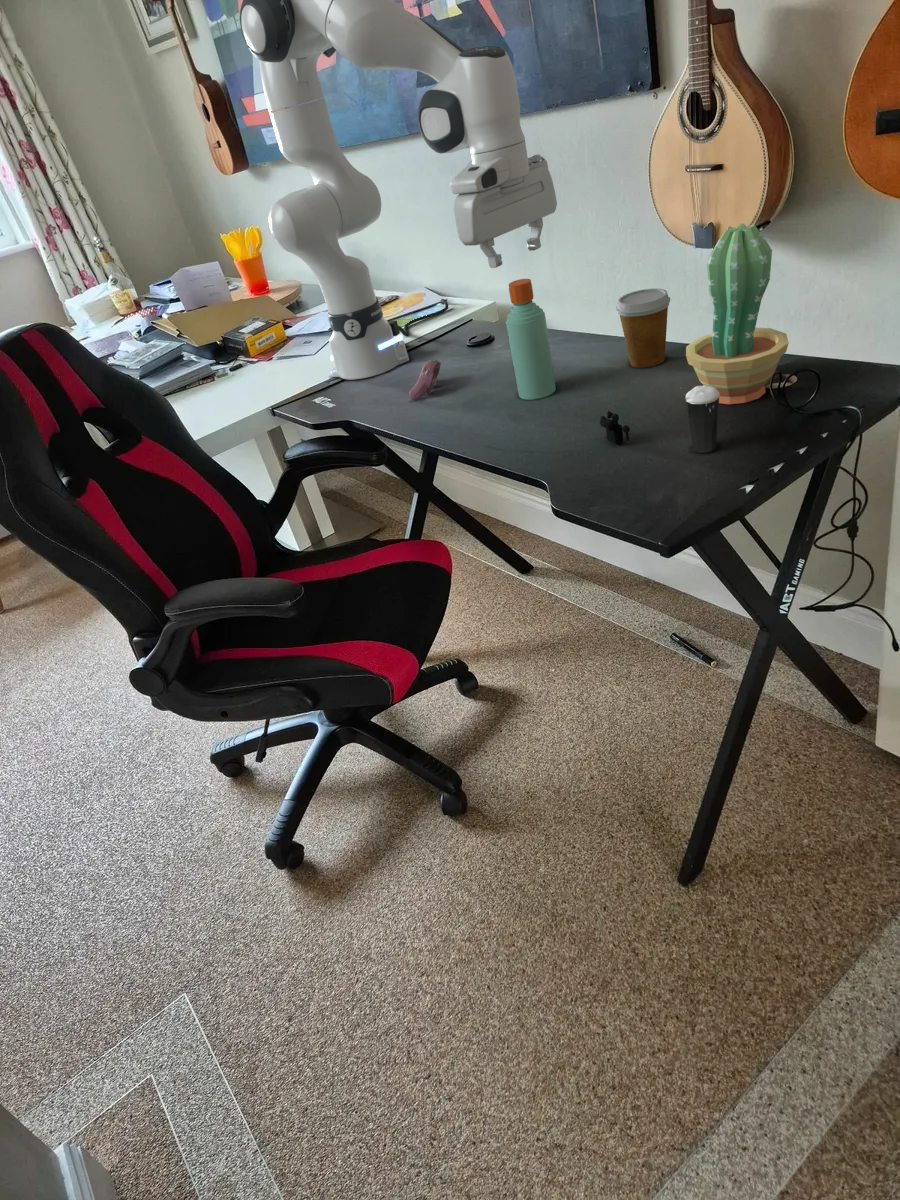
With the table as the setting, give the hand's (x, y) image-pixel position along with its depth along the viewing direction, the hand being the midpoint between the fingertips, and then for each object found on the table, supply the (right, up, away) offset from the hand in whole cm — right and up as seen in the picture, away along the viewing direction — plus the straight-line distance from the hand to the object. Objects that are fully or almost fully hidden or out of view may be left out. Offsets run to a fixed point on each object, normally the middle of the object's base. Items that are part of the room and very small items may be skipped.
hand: (515, 257), depth 132 cm
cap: (+1, -6, +4) cm, 7 cm away
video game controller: (-15, -16, +27) cm, 35 cm away
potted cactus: (+35, -25, -6) cm, 44 cm away
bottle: (+5, -19, +13) cm, 24 cm away
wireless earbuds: (+14, -34, -11) cm, 39 cm away
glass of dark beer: (+26, -36, -19) cm, 48 cm away
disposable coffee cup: (+26, -14, +14) cm, 32 cm away
